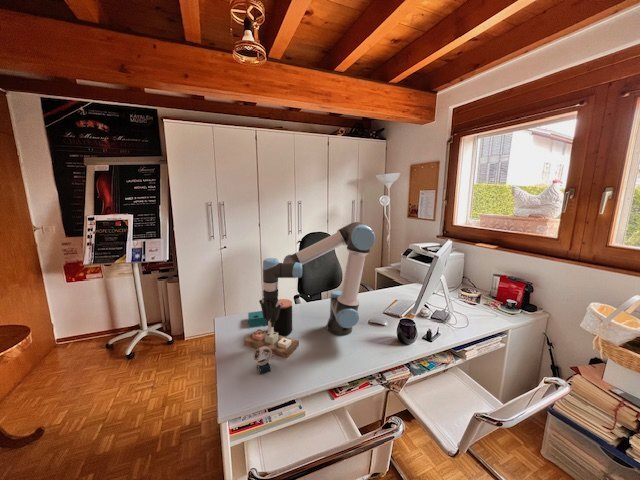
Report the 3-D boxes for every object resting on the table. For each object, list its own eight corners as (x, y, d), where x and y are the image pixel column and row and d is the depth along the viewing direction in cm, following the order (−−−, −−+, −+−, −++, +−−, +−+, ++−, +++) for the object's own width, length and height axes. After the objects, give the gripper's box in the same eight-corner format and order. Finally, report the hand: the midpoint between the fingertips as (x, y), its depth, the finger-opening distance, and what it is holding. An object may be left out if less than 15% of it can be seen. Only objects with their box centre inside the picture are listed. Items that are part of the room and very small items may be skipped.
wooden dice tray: (299, 345, 138) (299, 340, 137) (286, 359, 127) (286, 353, 126) (258, 334, 148) (258, 329, 148) (244, 345, 138) (244, 340, 137)
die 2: (278, 339, 138) (278, 332, 138) (272, 344, 134) (272, 337, 133) (270, 337, 140) (270, 330, 140) (264, 342, 136) (264, 334, 135)
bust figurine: (252, 369, 119) (252, 347, 117) (269, 363, 124) (269, 342, 122) (257, 376, 115) (256, 354, 113) (274, 370, 119) (273, 348, 117)
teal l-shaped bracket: (277, 316, 170) (276, 301, 169) (280, 323, 160) (279, 306, 159) (248, 320, 165) (247, 304, 164) (249, 327, 154) (248, 310, 153)
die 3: (291, 346, 135) (291, 339, 135) (286, 352, 131) (286, 344, 130) (283, 344, 137) (283, 337, 137) (277, 349, 133) (277, 341, 132)
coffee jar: (295, 329, 154) (295, 301, 150) (285, 338, 144) (285, 308, 141) (280, 325, 158) (280, 297, 154) (269, 334, 148) (269, 304, 145)
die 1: (265, 339, 142) (265, 331, 141) (260, 344, 137) (260, 336, 137) (258, 336, 144) (258, 329, 143) (252, 341, 139) (252, 334, 139)
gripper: (285, 288, 132) (285, 331, 137) (264, 284, 138) (264, 325, 142) (277, 293, 126) (277, 338, 130) (255, 289, 131) (256, 332, 135)
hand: (270, 331), depth 136 cm, fingers closed
